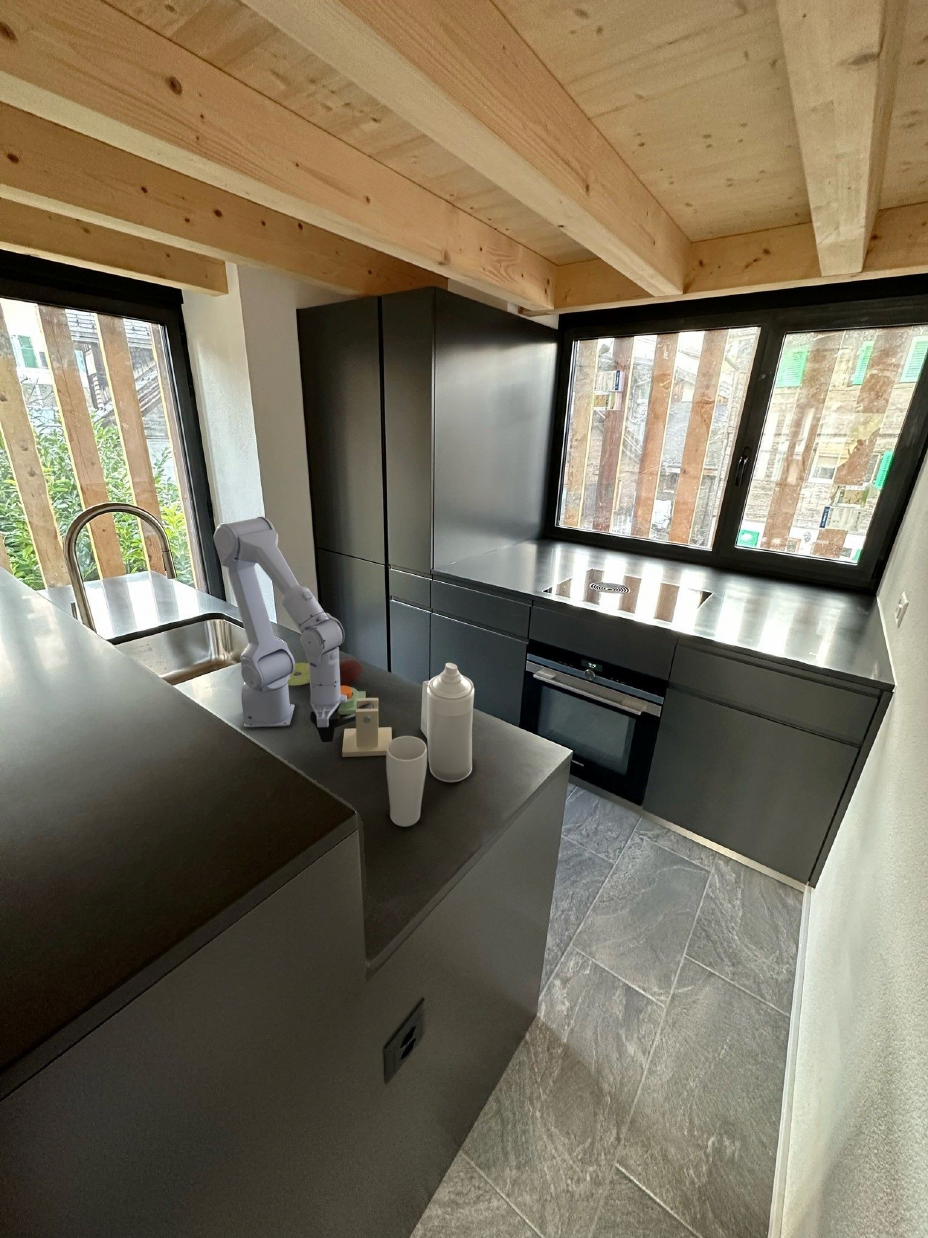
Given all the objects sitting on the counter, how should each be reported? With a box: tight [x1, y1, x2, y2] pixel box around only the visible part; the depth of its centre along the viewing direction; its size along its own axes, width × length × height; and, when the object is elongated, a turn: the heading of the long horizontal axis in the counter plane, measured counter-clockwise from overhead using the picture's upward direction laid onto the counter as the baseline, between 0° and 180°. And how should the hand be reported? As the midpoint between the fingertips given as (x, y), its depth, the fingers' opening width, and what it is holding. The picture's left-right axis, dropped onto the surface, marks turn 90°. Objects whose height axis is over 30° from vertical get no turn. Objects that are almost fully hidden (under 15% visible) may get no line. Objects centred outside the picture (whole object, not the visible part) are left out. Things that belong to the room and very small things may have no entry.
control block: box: [337, 686, 367, 716], centre depth 120 cm, size 10×8×3 cm
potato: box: [339, 658, 363, 687], centre depth 129 cm, size 7×10×6 cm
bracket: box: [341, 697, 393, 758], centre depth 106 cm, size 10×8×10 cm
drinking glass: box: [385, 735, 428, 828], centre depth 88 cm, size 7×7×15 cm
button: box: [340, 686, 352, 699], centre depth 120 cm, size 4×4×2 cm
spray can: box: [426, 662, 475, 783], centre depth 97 cm, size 12×11×25 cm
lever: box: [335, 702, 375, 729], centre depth 105 cm, size 12×3×3 cm, turn 97°
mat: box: [288, 662, 310, 686], centre depth 130 cm, size 11×11×2 cm
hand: (328, 735), depth 106 cm, fingers closed on lever, 3 cm apart
